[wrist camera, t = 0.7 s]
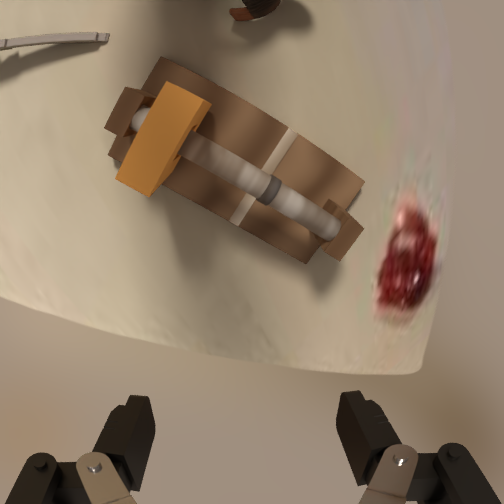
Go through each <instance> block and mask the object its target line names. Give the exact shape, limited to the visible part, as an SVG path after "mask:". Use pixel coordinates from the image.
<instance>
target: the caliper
mask: <svg viewBox="0 0 504 504" xmlns="http://www.w3.org/2000/svg"><path fill="white" fill-rule="evenodd" d="M108 38H109V33H97V32H79V33H59V34H47V35H36V36H28V37H20V38H13V39H2V40H0V51H2V50H8V49H12V48H15V47H23V46H32V45H42V44H56V43H78V42H97V41H103V42H106V41H108Z"/></svg>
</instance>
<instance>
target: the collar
mask: <svg viewBox="0 0 504 504" xmlns="http://www.w3.org/2000/svg"><path fill="white" fill-rule="evenodd" d="M211 105H212V104H211V103H209V102H207V101H206V100H204V99H202V98H200V97H198V96H196V95H194V94H193V93H191V92H189V91H187V90H185V89H183V88H181V87H179V86H177V85H174V84H172V83H170V82H168V81H166V83H165V84H164V86H163V88H162V89H161V91H160V93H159V95H158V96H157V98H156V100H155V101H154V103H153V105H152V107H151V109H150V110H149V112H148V114H147V116H146V118H145V119H144V121H143V123H142V125H141V127H140V129H139V131H138V133H137V135H136V137H135V138H134V140H133V142H132V144H131V146H130V148H129V150H128V152H127V154H126V157H125V159H124V161H123V163H122V165H121V167H120V169H119V171H118V173H117V176H116V178H115V179H116V180H118V181H120V182H122V183H124V184H126V185H127V186H129V187H131V188H133V189H135V190H137V191H138V192H140V193H142V194H144V195H146V196H148V197H150V196H151V195H152V194H153V193H154V191H155V190H156V189H157V188H158V187H159V186H160V185H161V184H162V183H163V182H164V180H165V179H166V178H167V177H168V176H169V175H170V174H171V173H172V172H173V170H174V168H175V166H176V165H177V163H178V161H179V159H180V157H181V155H179V154H177V153H178V151H179V149H180V148H181V146H182V144H183V142H184V141H185V139H186V137H187V135H188V134H189V132H190V130H193V131H195V132H196V130H197V128H198V127H199V125H200V123H201V122H202V120H203V118H204V117H205V115H206V113H207V112H208V110H209V109H210V107H211Z"/></svg>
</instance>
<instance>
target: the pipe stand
mask: <svg viewBox="0 0 504 504" xmlns="http://www.w3.org/2000/svg"><path fill="white" fill-rule="evenodd" d="M166 81H168V82H170V83H172V84H174V85H177V86H179V87H181V88H183V89H185V90H187V91H189V92H191V93H193V94H194V95H196V96H198V97H200V98H202V99H204V100H206V101H207V102H209V103H211V104H212V105H211V107H210V109H209V110H208V112H207V113H206V115H205V117H204V118H203V120H202V122H201V123H200V125H199V127H198V128H197V130H196V132H195V131H193V130H190V132H189V134H188V135H187V137H186V139H185V141H184V142H183V144H182V146H181V148H180V149H179V151H178V153H177V154H179V155H181V157H180V159H179V161H178V163H177V165H176V166H175V168H174V170H173V172H172V173H171V174H170V175H169V176H168V177H167V178H166V179H165V180H164V182H163V183H162V185H164V186H166V187H168V188H170V189H172V190H173V191H175V192H177V193H179V194H181V195H183V196H184V197H186V198H188V199H190V200H192V201H194V202H195V203H197V204H199V205H201V206H203V207H204V208H206V209H208V210H210V211H212V212H214V213H215V214H217V215H219V216H221V217H223V218H224V219H226V220H228V221H229V222H231V223H233V224H235V225H236V226H239V227H241V228H242V229H244V230H246V231H248V232H250V233H251V234H253V235H255V236H257V237H258V238H260V239H262V240H264V241H266V242H267V243H269V244H271V245H273V246H275V247H276V248H278V249H280V250H282V251H283V252H285V253H287V254H289V255H290V256H292V257H294V258H296V259H298V260H299V261H301V262H303V263H305V264H307V262H308V261H309V260H310V258H311V257H312V256H313V254H314V253H315V251H316V250H317V249H318V247H319V246H321V247H322V249H323V250H324V252H325V253H327V254H329V255H330V256H332V257H334V258H335V259H337V260H338V261H341V259H342V258H343V257H344V255H345V254H346V253H347V251H348V250H349V249H350V247H351V246H352V245H353V243H354V242H355V240H356V239H357V238H358V236H359V235H360V234H361V232H362V231H363V230H364V228H363V227H362V226H361V225H360V224H359V223H358V222H357V221H356V220H355V219H354V218H353V217H352V216H351V215H350V214H349V213H348V212H346V211H345V210H346V208H347V207H348V206H349V204H350V203H351V201H352V200H353V199H354V197H355V196H356V194H357V193H358V191H359V190H360V188H361V187H362V186H363V184H364V183H365V181H364V180H362V179H361V178H360V177H358V176H357V175H356V174H354V173H353V172H352V171H350V170H349V169H348V168H346V167H345V166H344V165H342V164H341V163H340V162H338V161H337V160H335V159H334V158H333V157H331V156H330V155H328V154H327V153H326V152H324V151H323V150H321V149H320V148H318V147H317V146H316V145H314V144H313V143H311V142H310V141H308V140H307V139H305V138H304V137H302V136H301V135H299V134H298V133H296V132H295V131H293V130H292V129H290V128H289V127H287V126H286V125H284V124H282V123H281V122H279V121H278V120H276V119H275V118H273V117H271V116H270V115H268V114H267V113H265V112H263V111H262V110H260V109H258V108H257V107H255V106H253V105H252V104H250V103H248V102H247V101H245V100H243V99H241V98H240V97H238V96H236V95H234V94H233V93H231V92H229V91H227V90H226V89H224V88H222V87H220V86H218V85H217V84H215V83H213V82H211V81H209V80H207V79H205V78H203V77H202V76H200V75H198V74H196V73H194V72H192V71H190V70H188V69H186V68H184V67H182V66H180V65H178V64H176V63H174V62H172V61H170V60H168V59H166V58H163V57H160V59H159V61H158V62H157V64H156V65H155V67H154V69H153V70H152V72H151V74H150V75H149V77H148V79H147V80H146V82H145V84H144V86H143V87H142V89H141V90H139V89H134V88H129V87H125V88H124V90H123V92H122V94H121V96H120V97H119V99H118V101H117V103H116V105H115V107H114V109H113V111H112V113H111V115H110V117H109V119H108V121H107V123H106V125H105V127H104V128H105V129H107V130H109V131H110V132H112V133H114V134H116V135H117V136H116V138H115V141H114V143H113V145H112V147H111V149H110V151H109V153H108V155H109V156H110V157H112V158H114V159H116V160H118V161H120V162H122V163H123V161H124V159H125V157H126V154H127V152H128V150H129V148H130V146H131V144H132V142H133V140H134V138H135V137H136V135H137V133H138V131H139V129H140V127H141V125H142V123H143V121H144V119H145V118H146V116H147V114H148V112H149V110H150V109H151V107H152V105H153V103H154V101H155V100H156V98H157V96H158V95H159V93H160V91H161V89H162V88H163V86H164V84H165V83H166Z"/></svg>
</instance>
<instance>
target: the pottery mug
mask: <svg viewBox="0 0 504 504" xmlns="http://www.w3.org/2000/svg"><path fill="white" fill-rule="evenodd" d="M242 2H243V3H244V4H245V5H246V6H247V7H244V8H231V9H230V11H229V12H230V14H231V15H232V16H233V18H234V19H235V20H237V21H245V20H252V19H257V18H260V17H262V16H265V15H267V14H269V13H271V12H272V11H273V10H275V9H276V7H277V6H278V5H279V3H280V0H242Z"/></svg>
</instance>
